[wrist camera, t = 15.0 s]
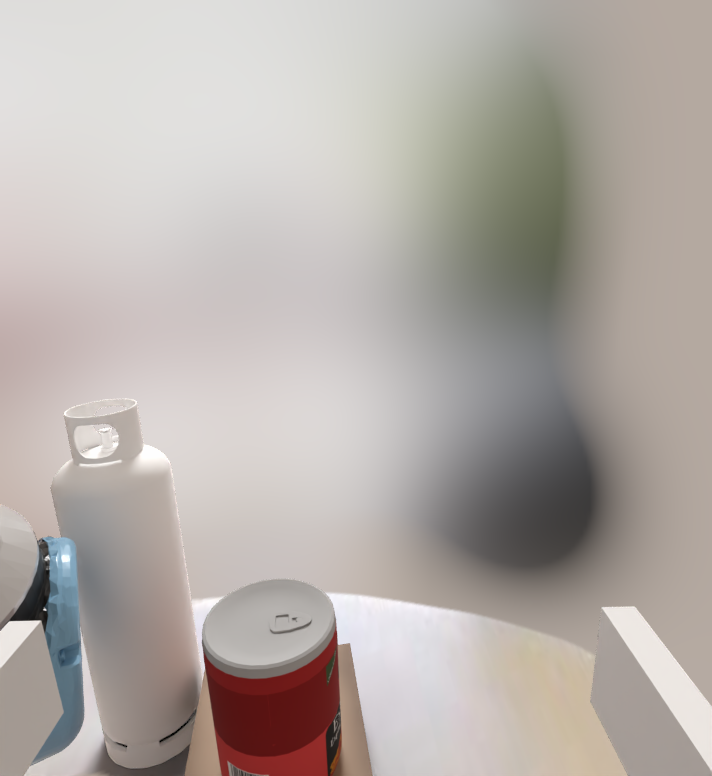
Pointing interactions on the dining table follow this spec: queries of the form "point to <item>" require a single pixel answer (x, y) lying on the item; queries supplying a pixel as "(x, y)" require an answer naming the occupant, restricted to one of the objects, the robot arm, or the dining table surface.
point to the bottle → (130, 584)
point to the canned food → (274, 680)
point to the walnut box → (354, 754)
